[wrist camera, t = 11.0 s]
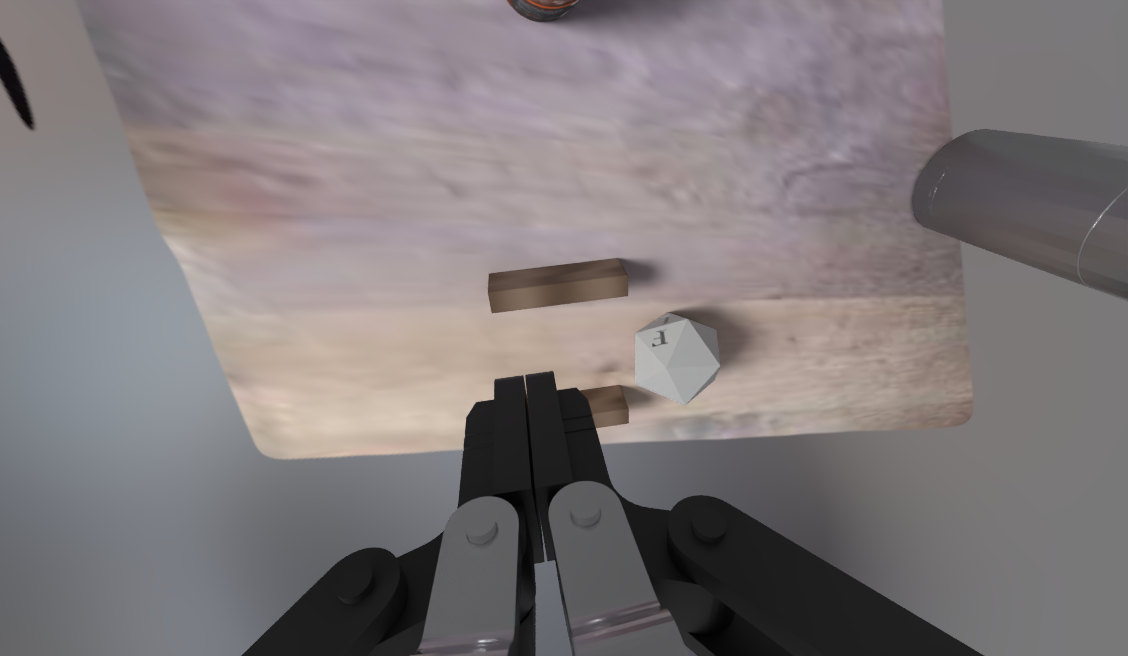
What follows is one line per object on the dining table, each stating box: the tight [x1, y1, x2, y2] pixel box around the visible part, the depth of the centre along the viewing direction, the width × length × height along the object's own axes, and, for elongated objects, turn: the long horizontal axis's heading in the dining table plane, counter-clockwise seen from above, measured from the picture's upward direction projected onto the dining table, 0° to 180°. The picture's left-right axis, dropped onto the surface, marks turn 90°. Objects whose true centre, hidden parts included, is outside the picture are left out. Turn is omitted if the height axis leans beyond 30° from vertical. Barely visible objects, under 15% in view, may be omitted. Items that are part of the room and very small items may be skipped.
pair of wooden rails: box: [488, 258, 629, 428], centre depth 43 cm, size 12×17×4 cm
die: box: [635, 312, 720, 405], centre depth 43 cm, size 8×9×10 cm
